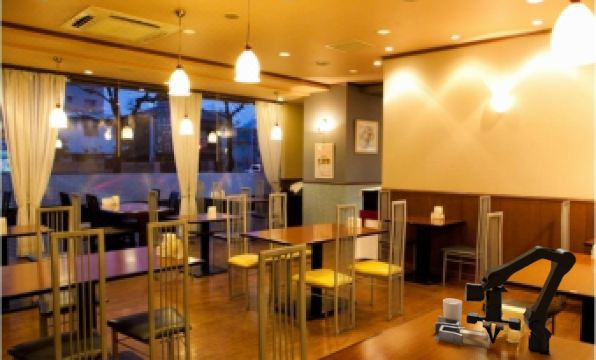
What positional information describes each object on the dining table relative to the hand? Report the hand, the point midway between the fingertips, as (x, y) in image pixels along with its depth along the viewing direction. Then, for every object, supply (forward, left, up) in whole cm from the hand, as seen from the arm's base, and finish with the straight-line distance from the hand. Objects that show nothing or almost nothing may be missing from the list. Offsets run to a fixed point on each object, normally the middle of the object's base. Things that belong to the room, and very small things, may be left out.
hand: (492, 343), depth 173 cm
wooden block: (+7, 0, -1) cm, 7 cm away
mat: (+11, -6, -2) cm, 13 cm away
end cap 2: (+15, 0, -1) cm, 15 cm away
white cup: (+17, -19, -2) cm, 26 cm away
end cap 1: (+18, -9, -1) cm, 20 cm away
